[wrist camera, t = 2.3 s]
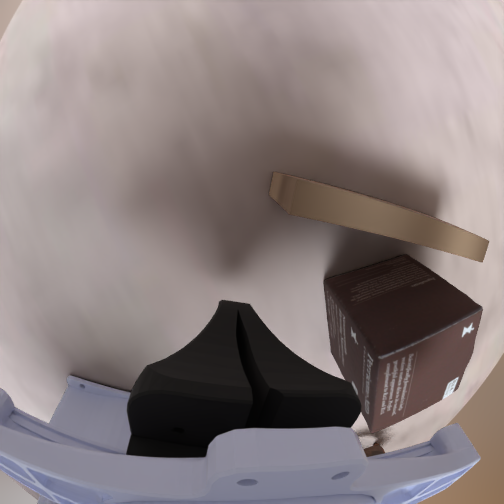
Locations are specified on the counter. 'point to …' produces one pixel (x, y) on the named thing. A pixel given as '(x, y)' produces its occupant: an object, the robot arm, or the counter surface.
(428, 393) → the box
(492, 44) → the counter surface
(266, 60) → the counter surface
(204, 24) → the counter surface
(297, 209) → the walnut screen
